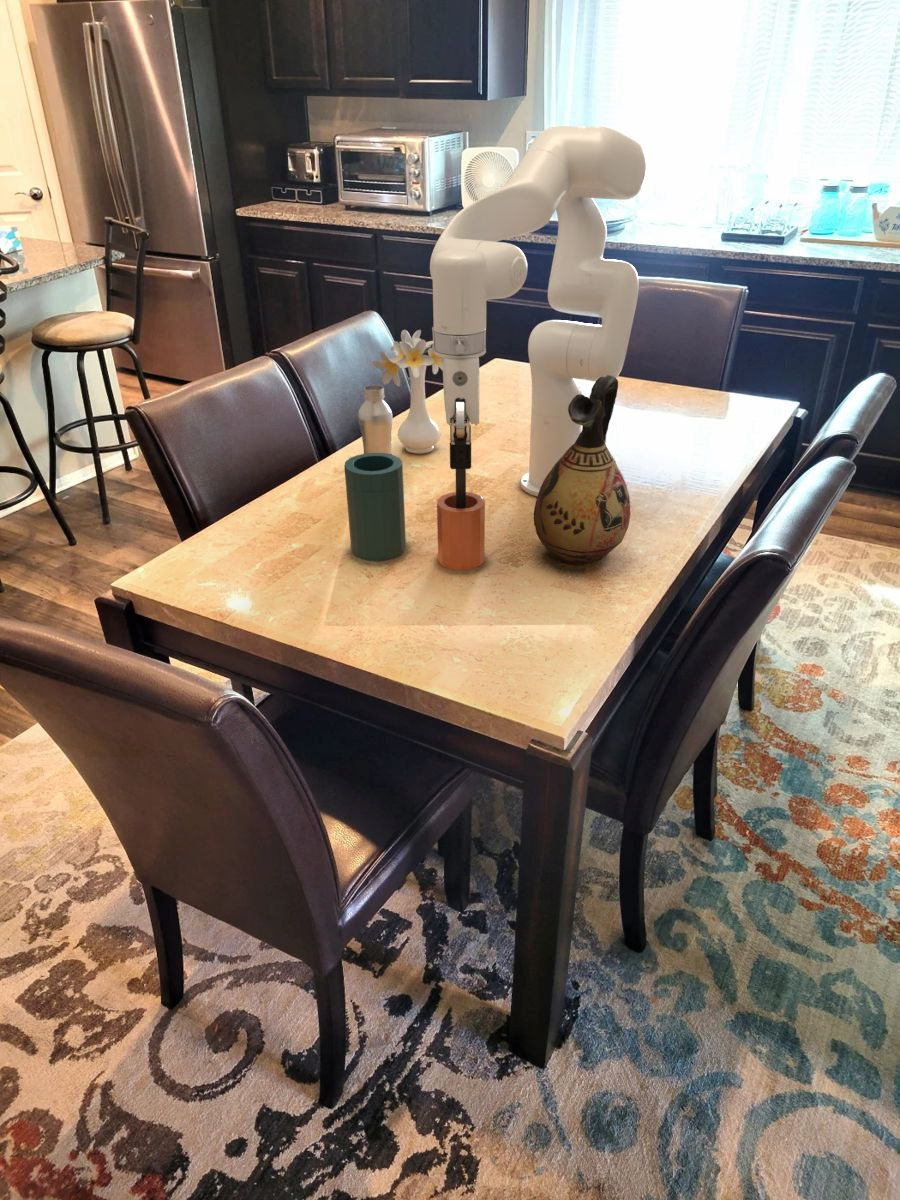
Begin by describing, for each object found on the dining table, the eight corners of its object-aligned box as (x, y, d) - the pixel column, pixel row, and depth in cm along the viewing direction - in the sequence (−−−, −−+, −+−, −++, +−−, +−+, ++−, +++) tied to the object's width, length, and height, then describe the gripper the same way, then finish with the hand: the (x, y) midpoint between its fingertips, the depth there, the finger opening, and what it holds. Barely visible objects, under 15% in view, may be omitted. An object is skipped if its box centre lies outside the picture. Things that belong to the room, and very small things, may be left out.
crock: (483, 551, 144) (484, 491, 139) (484, 573, 138) (485, 511, 132) (438, 551, 144) (437, 491, 139) (437, 573, 138) (436, 512, 132)
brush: (470, 554, 142) (470, 428, 131) (470, 563, 139) (471, 435, 128) (451, 554, 142) (450, 428, 131) (451, 563, 139) (449, 435, 128)
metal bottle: (392, 495, 164) (387, 393, 154) (358, 492, 166) (351, 392, 155) (400, 482, 170) (396, 383, 160) (368, 480, 171) (361, 381, 161)
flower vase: (371, 459, 181) (363, 340, 168) (415, 432, 194) (411, 320, 181) (423, 470, 175) (420, 347, 162) (466, 441, 189) (465, 326, 176)
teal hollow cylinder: (407, 538, 148) (403, 452, 140) (404, 564, 141) (400, 474, 132) (354, 539, 149) (348, 452, 140) (348, 564, 141) (341, 474, 132)
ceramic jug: (603, 589, 133) (620, 402, 117) (515, 565, 140) (521, 385, 124) (643, 546, 145) (663, 371, 129) (560, 526, 152) (571, 358, 137)
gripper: (487, 358, 115) (486, 481, 124) (484, 327, 130) (483, 438, 139) (432, 359, 115) (434, 481, 124) (435, 328, 130) (437, 439, 139)
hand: (460, 458), depth 131 cm, fingers open, 6 cm apart
